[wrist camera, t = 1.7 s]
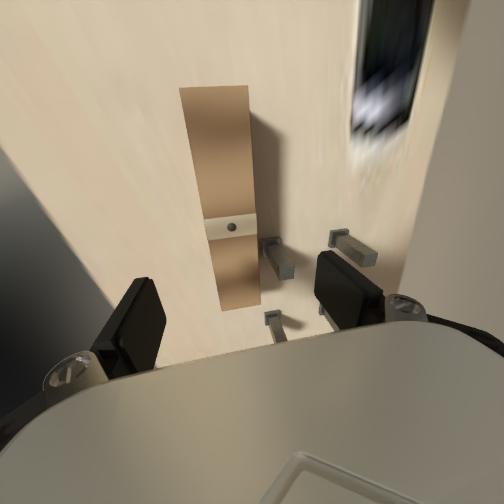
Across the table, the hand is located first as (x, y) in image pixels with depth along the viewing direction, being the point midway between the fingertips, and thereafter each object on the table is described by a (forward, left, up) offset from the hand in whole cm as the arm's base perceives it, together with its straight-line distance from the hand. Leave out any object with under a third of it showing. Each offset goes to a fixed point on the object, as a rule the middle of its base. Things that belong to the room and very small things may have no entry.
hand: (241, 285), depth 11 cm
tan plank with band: (-1, 0, -14) cm, 14 cm away
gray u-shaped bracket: (+5, +10, -14) cm, 18 cm away
